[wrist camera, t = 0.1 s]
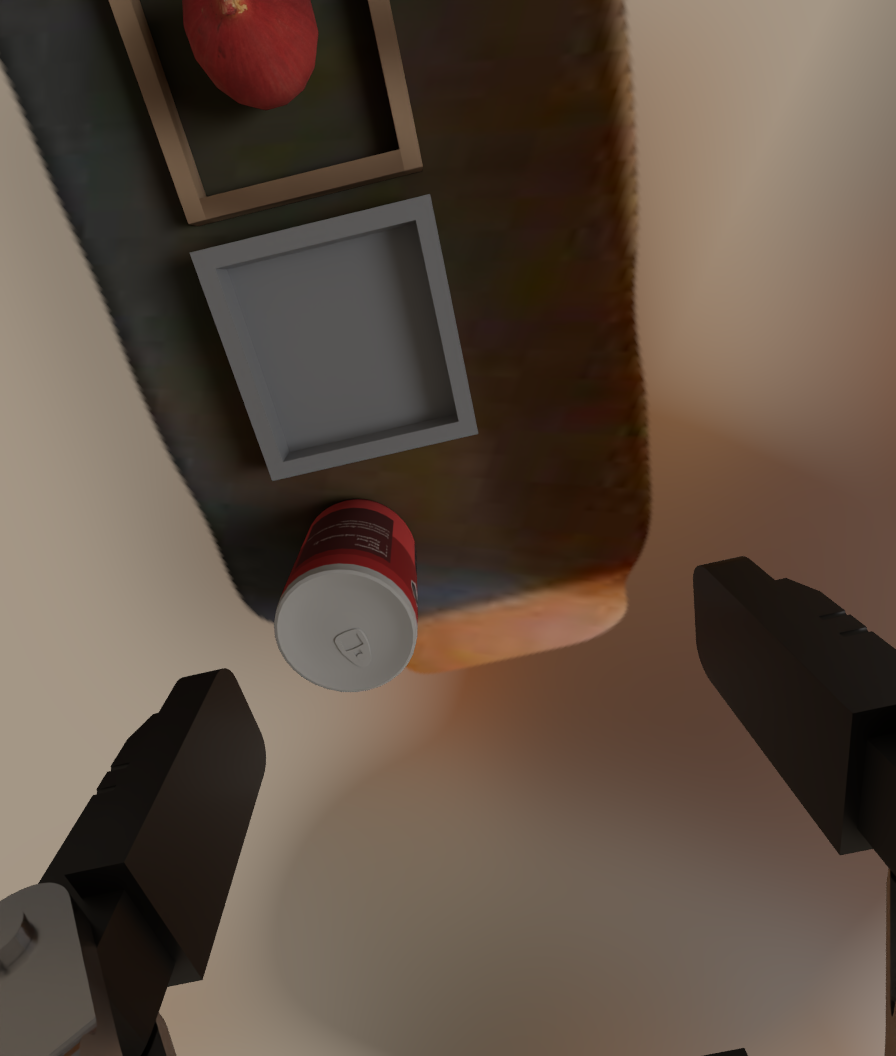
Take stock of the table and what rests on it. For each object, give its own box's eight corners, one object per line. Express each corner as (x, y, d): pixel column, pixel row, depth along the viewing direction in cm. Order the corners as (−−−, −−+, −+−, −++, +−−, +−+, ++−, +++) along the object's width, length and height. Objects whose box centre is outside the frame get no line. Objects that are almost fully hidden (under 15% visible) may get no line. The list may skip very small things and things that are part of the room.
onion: (187, 38, 29) (112, -44, 22) (274, -45, 28) (225, -160, 21) (266, 150, 31) (221, 109, 24) (349, 76, 30) (330, 11, 23)
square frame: (91, -76, 27) (74, -95, 26) (357, -147, 27) (354, -170, 25) (197, 226, 32) (188, 223, 31) (422, 171, 32) (422, 166, 31)
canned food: (361, 614, 43) (345, 716, 33) (282, 541, 40) (240, 628, 30) (439, 553, 41) (448, 641, 31) (363, 473, 39) (346, 540, 29)
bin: (208, 255, 33) (189, 252, 30) (428, 201, 33) (429, 194, 30) (282, 466, 38) (272, 481, 35) (473, 422, 38) (478, 433, 35)
